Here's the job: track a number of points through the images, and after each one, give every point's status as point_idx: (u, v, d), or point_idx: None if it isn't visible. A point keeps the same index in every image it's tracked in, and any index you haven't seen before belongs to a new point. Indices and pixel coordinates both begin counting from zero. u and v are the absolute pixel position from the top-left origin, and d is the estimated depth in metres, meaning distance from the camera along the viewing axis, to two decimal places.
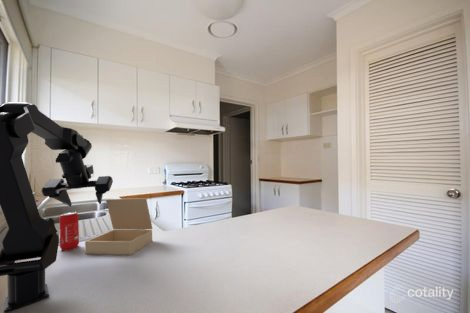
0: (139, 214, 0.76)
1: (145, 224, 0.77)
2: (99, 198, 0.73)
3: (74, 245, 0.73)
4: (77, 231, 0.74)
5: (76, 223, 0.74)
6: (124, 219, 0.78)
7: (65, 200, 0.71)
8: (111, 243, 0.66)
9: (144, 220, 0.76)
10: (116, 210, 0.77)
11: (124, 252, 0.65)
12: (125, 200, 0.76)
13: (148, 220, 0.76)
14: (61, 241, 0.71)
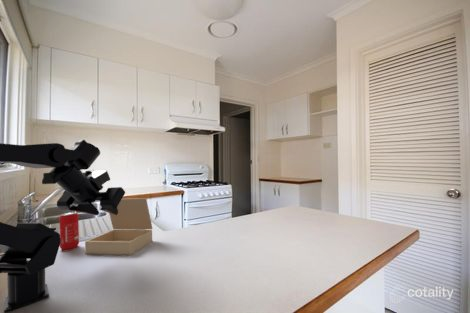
0: (139, 214, 0.76)
1: (145, 224, 0.77)
2: (109, 212, 0.63)
3: (74, 245, 0.73)
4: (77, 231, 0.74)
5: (76, 223, 0.74)
6: (124, 219, 0.78)
7: (88, 211, 0.65)
8: (111, 243, 0.66)
9: (144, 220, 0.76)
10: None
11: (124, 252, 0.65)
12: (125, 200, 0.76)
13: (148, 220, 0.76)
14: (61, 241, 0.71)
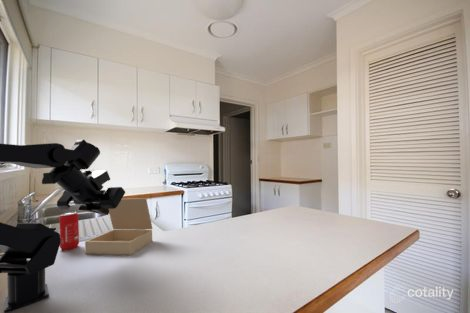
0: (139, 214, 0.76)
1: (145, 224, 0.77)
2: (100, 212, 0.63)
3: (74, 245, 0.73)
4: (77, 231, 0.74)
5: (76, 223, 0.74)
6: (124, 219, 0.78)
7: None
8: (111, 243, 0.66)
9: (144, 220, 0.76)
10: (116, 210, 0.77)
11: (124, 252, 0.65)
12: (125, 200, 0.76)
13: (148, 220, 0.76)
14: (61, 241, 0.71)
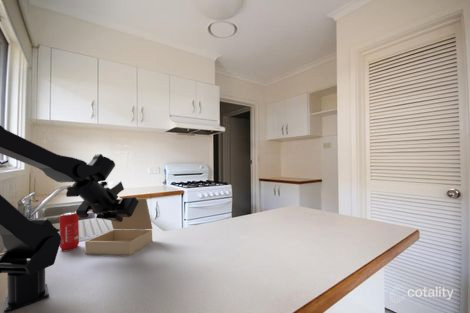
0: (139, 214, 0.76)
1: (145, 224, 0.77)
2: (115, 220, 0.69)
3: (74, 245, 0.73)
4: (77, 231, 0.74)
5: (76, 223, 0.74)
6: (124, 219, 0.78)
7: (112, 218, 0.70)
8: (111, 243, 0.66)
9: (144, 220, 0.76)
10: None
11: (124, 252, 0.65)
12: None
13: (148, 220, 0.76)
14: (61, 241, 0.71)
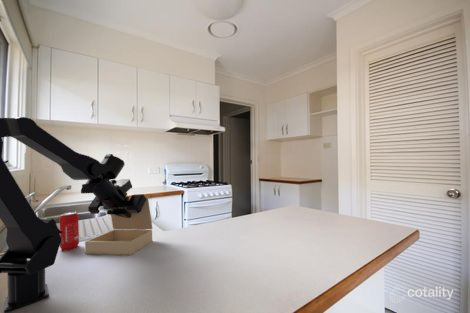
0: (140, 214, 0.77)
1: (145, 224, 0.77)
2: (124, 216, 0.73)
3: (74, 245, 0.73)
4: (77, 231, 0.74)
5: (76, 223, 0.74)
6: (125, 218, 0.78)
7: None
8: (111, 243, 0.66)
9: (145, 220, 0.77)
10: None
11: (124, 252, 0.65)
12: None
13: (149, 220, 0.76)
14: None
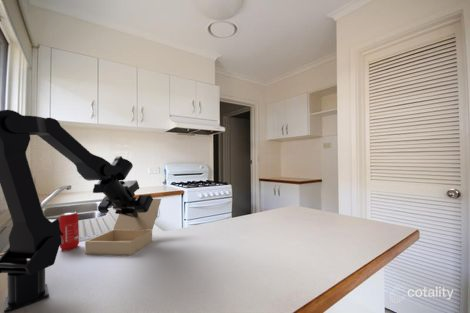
0: (147, 213, 0.81)
1: (147, 224, 0.78)
2: (132, 215, 0.77)
3: (74, 245, 0.73)
4: (77, 231, 0.74)
5: (76, 223, 0.74)
6: (131, 218, 0.81)
7: None
8: (111, 243, 0.66)
9: (149, 219, 0.79)
10: None
11: (124, 252, 0.65)
12: None
13: (153, 219, 0.79)
14: None
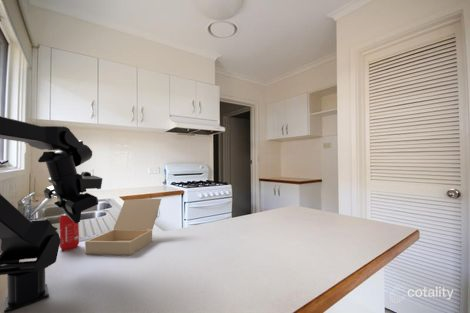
0: (147, 213, 0.81)
1: (147, 224, 0.78)
2: (68, 215, 0.59)
3: (74, 245, 0.73)
4: (77, 231, 0.74)
5: (76, 223, 0.74)
6: (131, 218, 0.81)
7: None
8: (111, 243, 0.66)
9: (149, 219, 0.79)
10: (128, 209, 0.83)
11: (124, 252, 0.65)
12: (141, 200, 0.85)
13: (153, 219, 0.79)
14: (61, 241, 0.71)
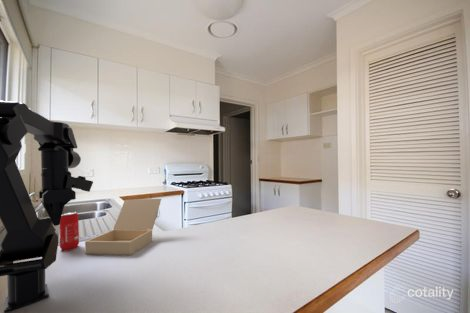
0: (147, 213, 0.81)
1: (147, 224, 0.78)
2: (47, 213, 0.56)
3: (74, 245, 0.73)
4: (77, 231, 0.74)
5: (76, 223, 0.74)
6: (131, 218, 0.81)
7: None
8: (111, 243, 0.66)
9: (149, 219, 0.79)
10: (128, 209, 0.83)
11: (124, 252, 0.65)
12: (141, 200, 0.85)
13: (153, 219, 0.79)
14: (61, 241, 0.71)
